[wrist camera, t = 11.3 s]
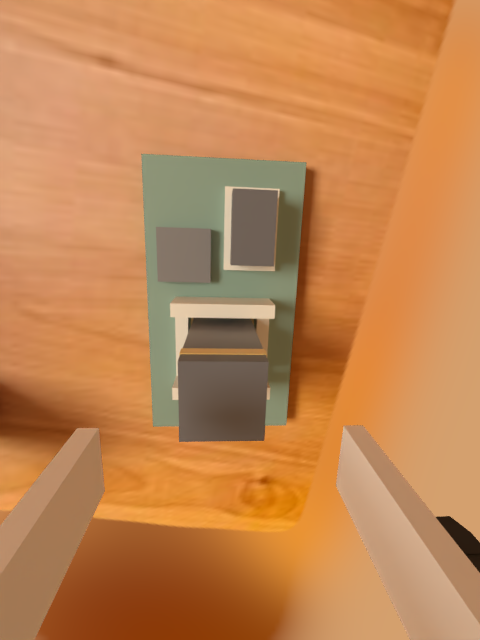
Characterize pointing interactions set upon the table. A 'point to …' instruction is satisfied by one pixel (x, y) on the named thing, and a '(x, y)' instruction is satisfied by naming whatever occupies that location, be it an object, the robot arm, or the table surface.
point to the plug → (222, 382)
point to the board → (221, 261)
